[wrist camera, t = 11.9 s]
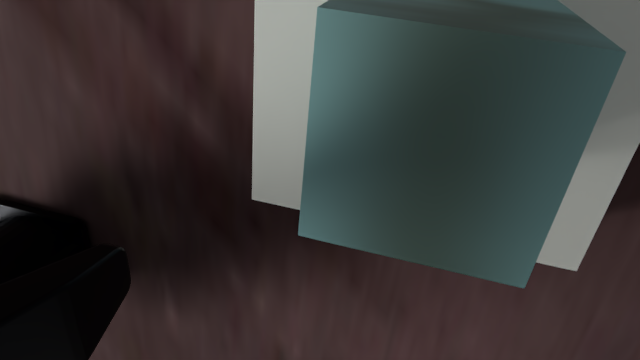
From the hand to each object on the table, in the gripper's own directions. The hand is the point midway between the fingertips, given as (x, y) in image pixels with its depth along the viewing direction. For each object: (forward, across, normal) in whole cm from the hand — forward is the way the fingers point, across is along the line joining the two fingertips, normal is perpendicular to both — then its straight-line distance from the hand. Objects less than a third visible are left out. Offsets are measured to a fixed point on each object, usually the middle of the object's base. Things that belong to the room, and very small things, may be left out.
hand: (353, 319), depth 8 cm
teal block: (+8, -1, -2) cm, 9 cm away
